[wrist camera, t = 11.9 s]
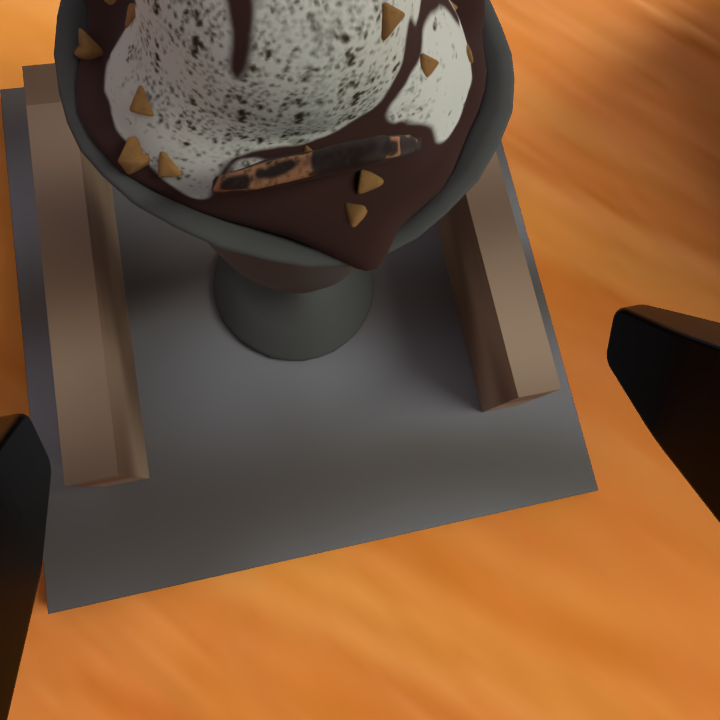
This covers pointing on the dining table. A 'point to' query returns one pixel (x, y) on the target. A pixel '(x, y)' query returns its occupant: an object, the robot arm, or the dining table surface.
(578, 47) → the dining table surface
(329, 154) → the sundae
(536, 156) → the dining table surface
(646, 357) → the robot arm
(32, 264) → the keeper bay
